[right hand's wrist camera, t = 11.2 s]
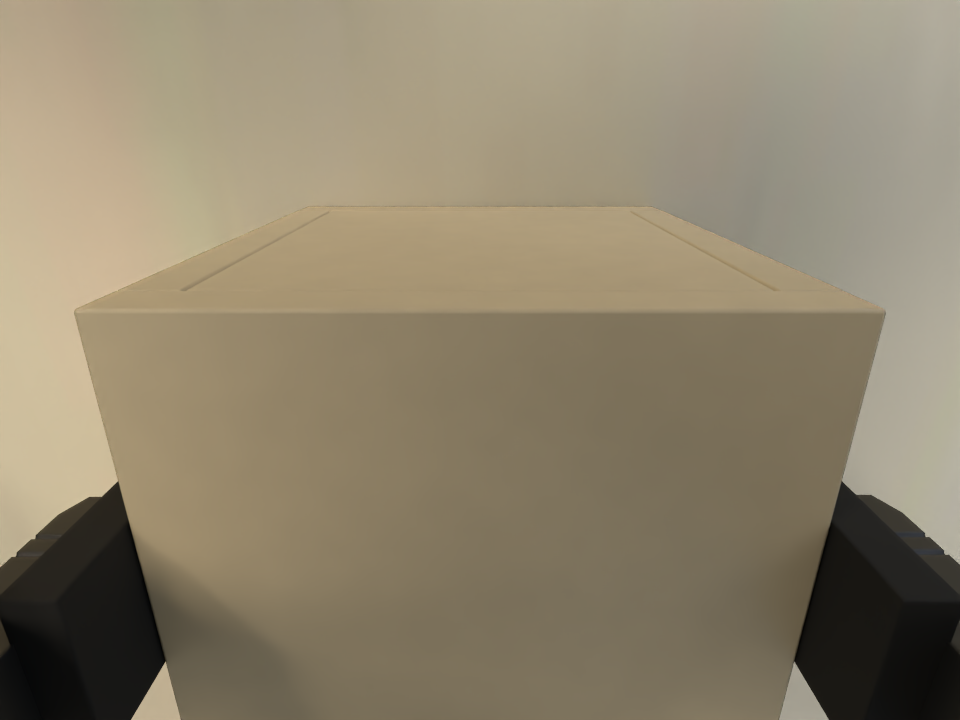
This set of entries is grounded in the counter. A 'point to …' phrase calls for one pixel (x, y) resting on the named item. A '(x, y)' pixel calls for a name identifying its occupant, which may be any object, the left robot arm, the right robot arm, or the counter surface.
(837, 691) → the right robot arm
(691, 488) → the cabinet
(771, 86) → the counter surface
